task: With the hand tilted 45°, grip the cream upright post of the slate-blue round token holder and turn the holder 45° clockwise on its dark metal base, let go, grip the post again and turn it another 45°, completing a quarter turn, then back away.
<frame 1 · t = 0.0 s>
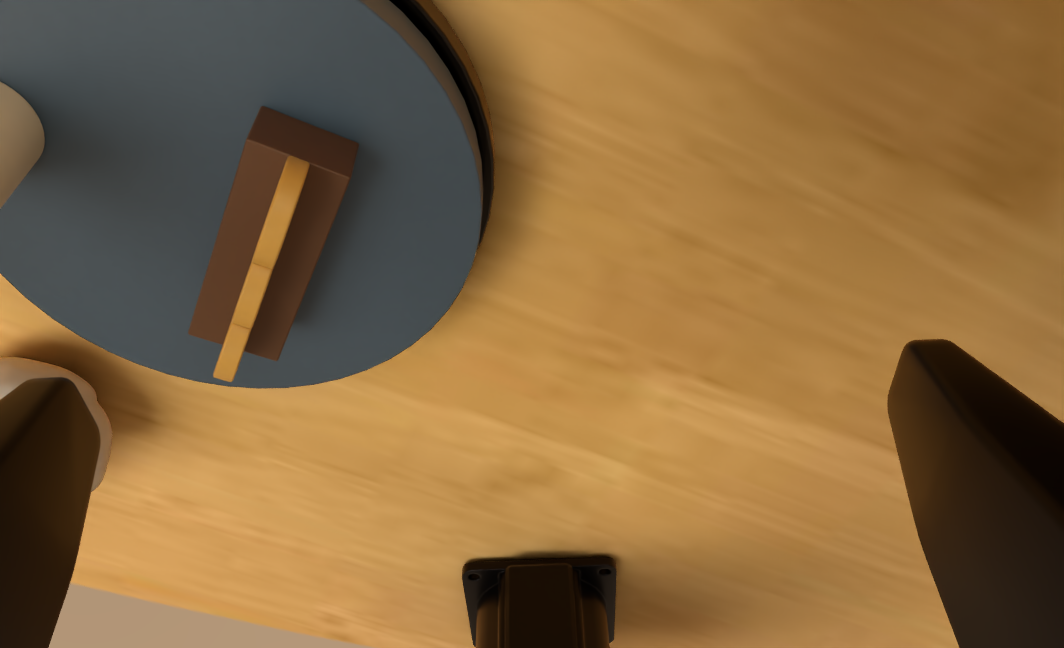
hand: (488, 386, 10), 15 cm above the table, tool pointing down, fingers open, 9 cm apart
token holder: (170, 310, 19), point 7 cm above the table, hinge at 0.0°
turntable base: (240, 153, 24), on the table
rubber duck: (48, 391, 31), on the table
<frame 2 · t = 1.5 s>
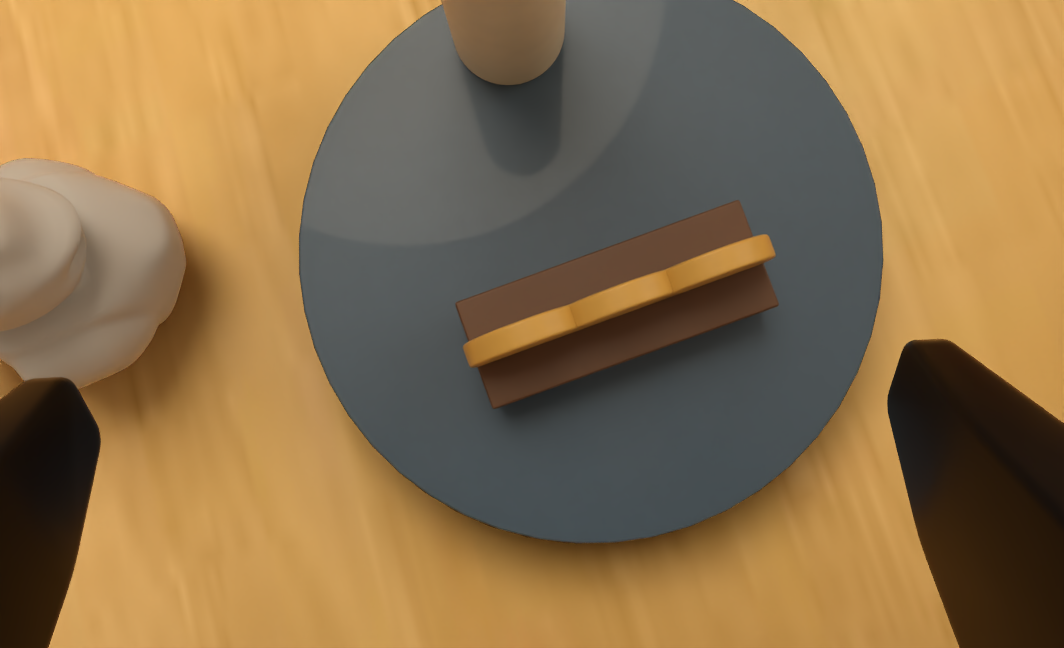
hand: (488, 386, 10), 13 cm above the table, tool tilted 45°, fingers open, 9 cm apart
token holder: (598, 216, 16), point 7 cm above the table, hinge at 0.0°
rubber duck: (95, 288, 23), on the table
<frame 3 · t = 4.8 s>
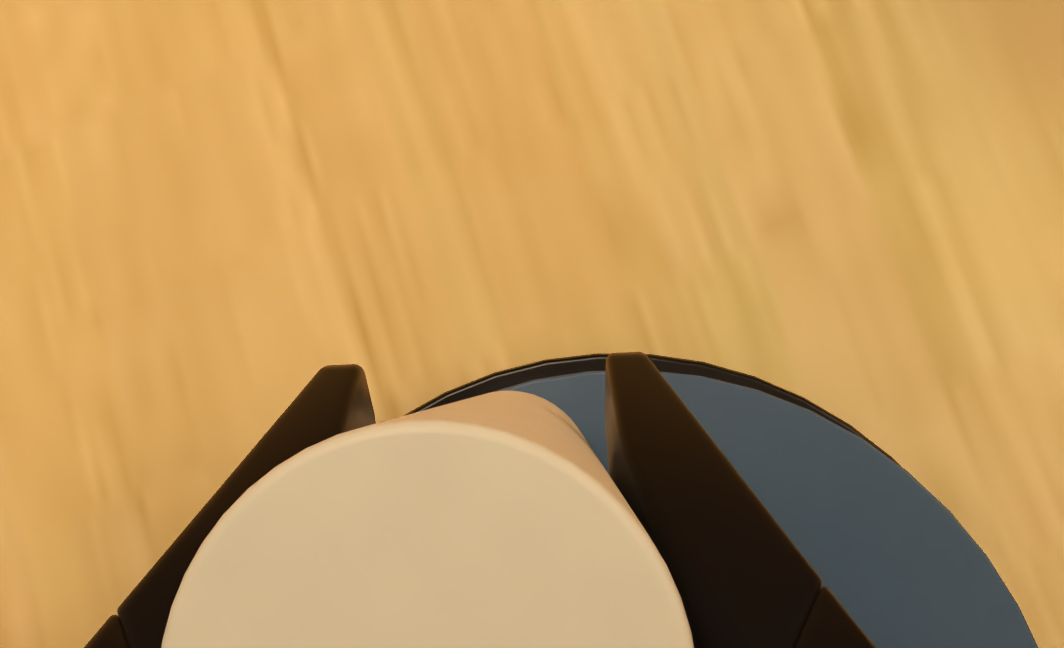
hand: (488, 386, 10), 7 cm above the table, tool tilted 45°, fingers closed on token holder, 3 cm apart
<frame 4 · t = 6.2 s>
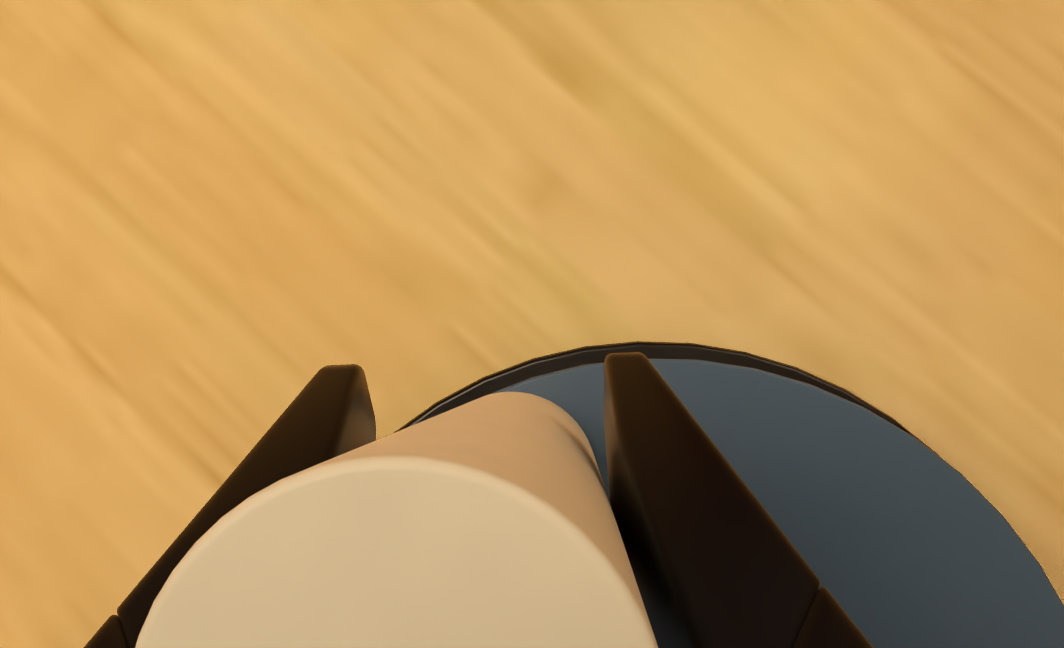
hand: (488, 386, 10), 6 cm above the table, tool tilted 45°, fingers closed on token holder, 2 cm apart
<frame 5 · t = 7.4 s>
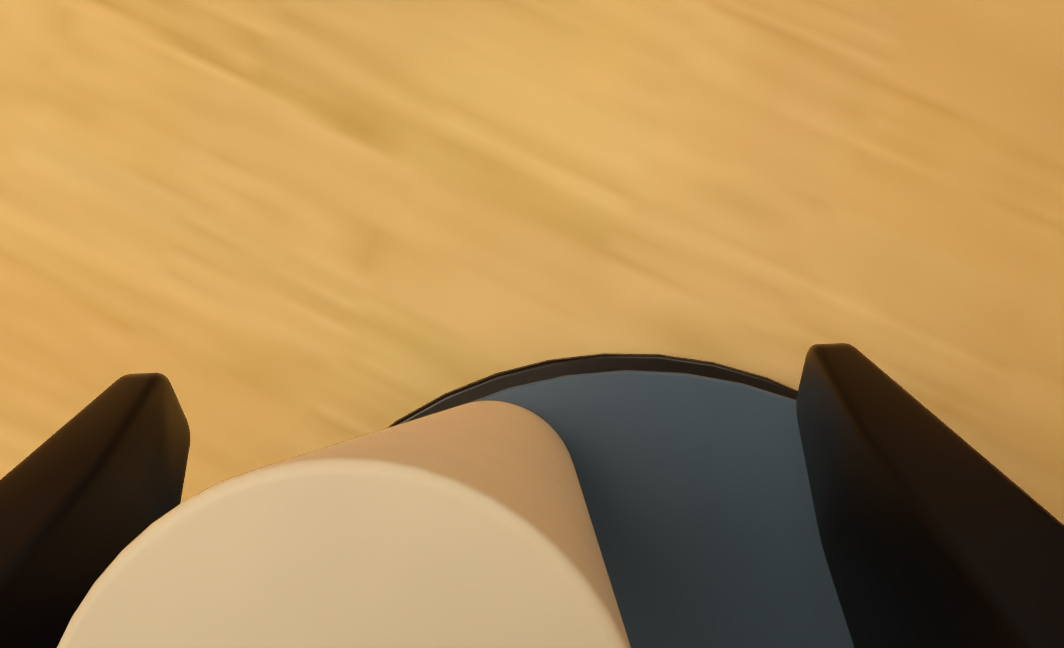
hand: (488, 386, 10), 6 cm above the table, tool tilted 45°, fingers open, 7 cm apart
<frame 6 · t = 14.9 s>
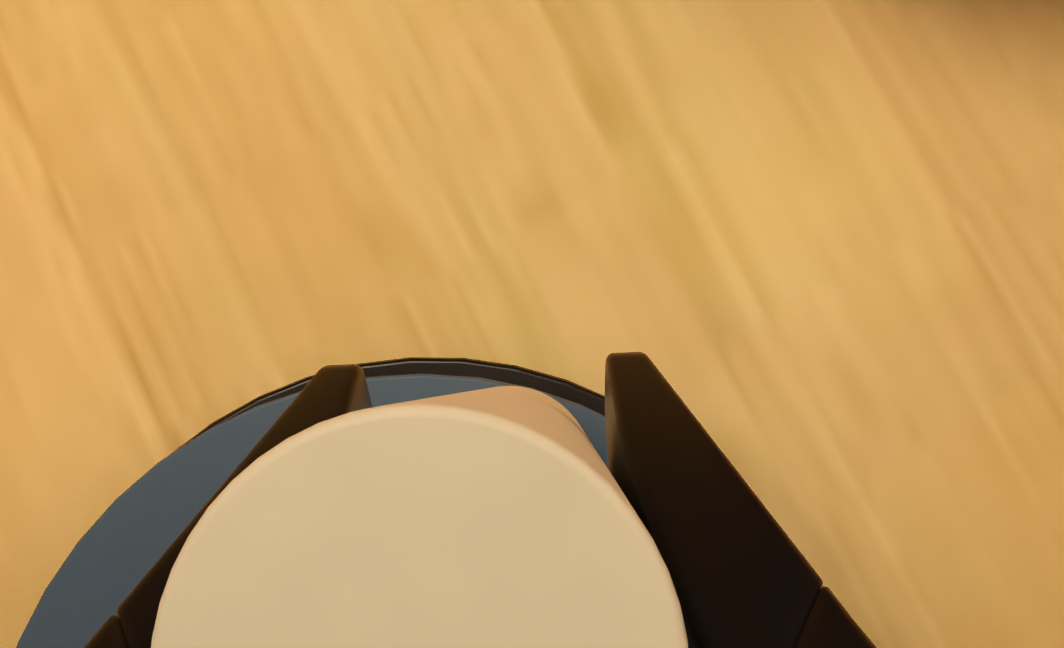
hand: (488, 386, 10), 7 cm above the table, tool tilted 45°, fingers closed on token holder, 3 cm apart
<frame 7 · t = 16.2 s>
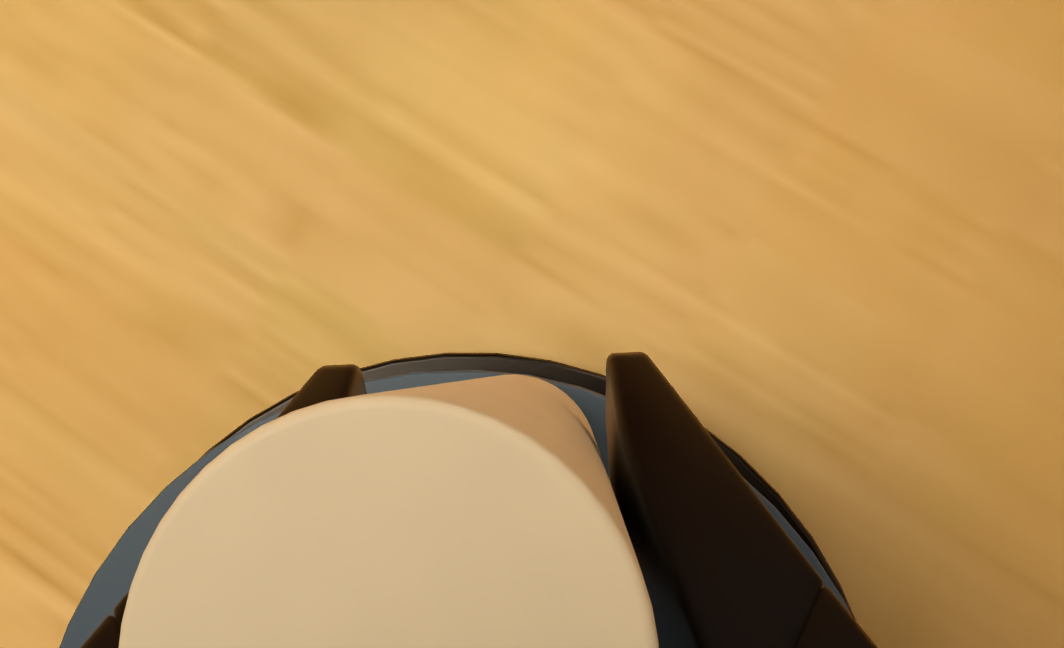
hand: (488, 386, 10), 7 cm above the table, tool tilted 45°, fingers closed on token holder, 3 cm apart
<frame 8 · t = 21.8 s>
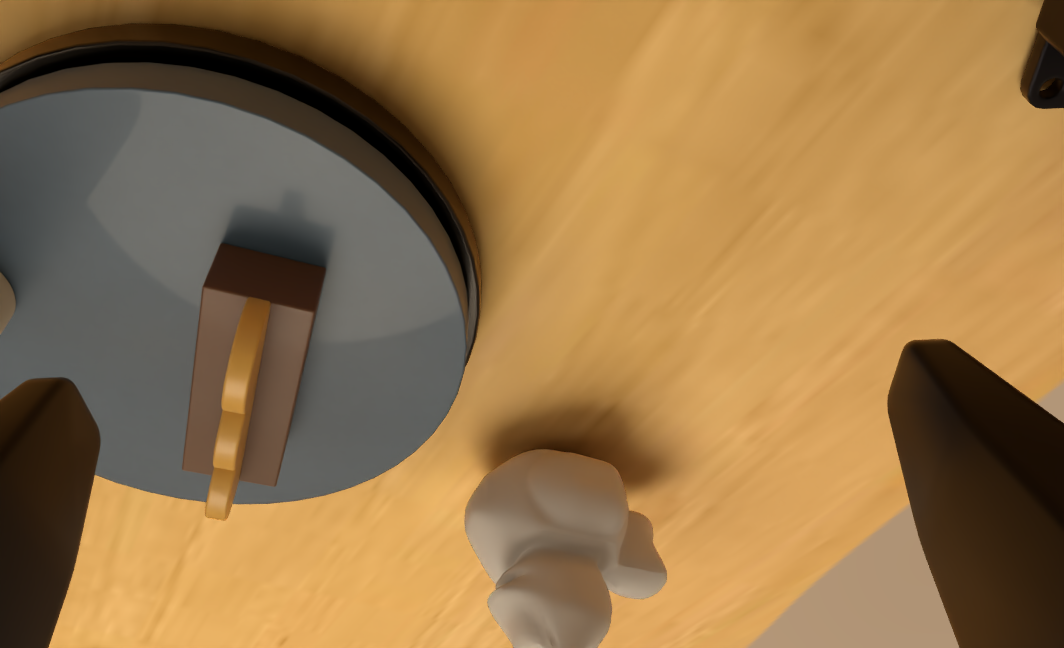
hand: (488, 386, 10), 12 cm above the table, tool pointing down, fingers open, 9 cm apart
token holder: (143, 470, 19), point 7 cm above the table, hinge at -82.7°
turntable base: (220, 275, 24), on the table
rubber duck: (563, 472, 30), on the table
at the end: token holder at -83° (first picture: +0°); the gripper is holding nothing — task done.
